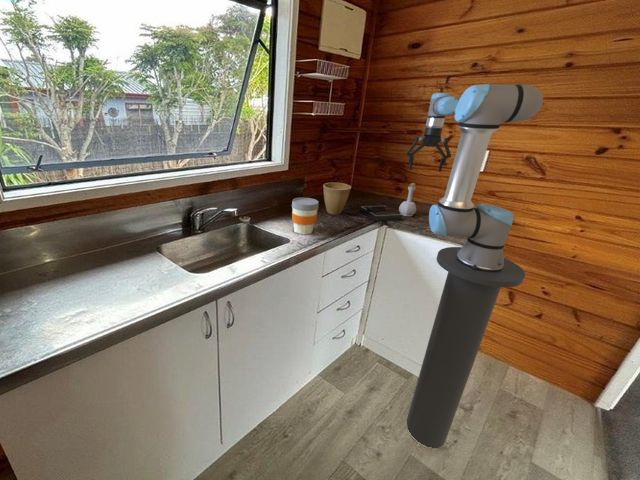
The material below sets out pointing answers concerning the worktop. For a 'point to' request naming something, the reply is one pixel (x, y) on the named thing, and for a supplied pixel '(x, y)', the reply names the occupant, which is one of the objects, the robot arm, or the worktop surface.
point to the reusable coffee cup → (304, 214)
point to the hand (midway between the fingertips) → (424, 170)
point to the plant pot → (335, 197)
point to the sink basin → (367, 212)
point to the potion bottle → (408, 203)
